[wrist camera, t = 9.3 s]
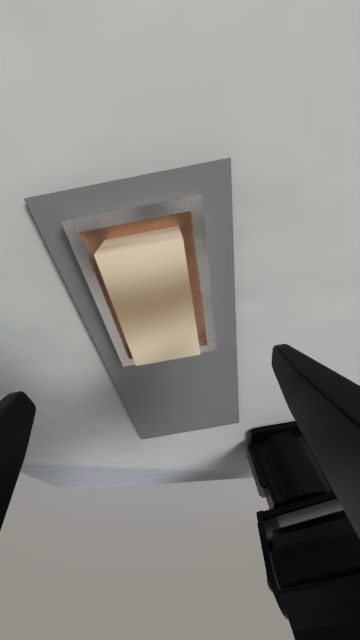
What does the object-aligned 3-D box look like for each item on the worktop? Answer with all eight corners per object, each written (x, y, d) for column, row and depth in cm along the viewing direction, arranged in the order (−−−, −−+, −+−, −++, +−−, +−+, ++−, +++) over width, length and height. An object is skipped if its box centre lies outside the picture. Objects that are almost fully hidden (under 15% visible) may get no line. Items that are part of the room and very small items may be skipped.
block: (195, 330, 16) (200, 354, 14) (138, 340, 16) (136, 366, 14) (178, 225, 12) (182, 237, 10) (104, 239, 12) (93, 254, 10)
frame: (198, 192, 11) (202, 194, 11) (213, 341, 17) (217, 350, 16) (67, 217, 12) (61, 222, 11) (124, 357, 17) (123, 366, 16)
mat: (227, 158, 11) (230, 157, 11) (237, 418, 23) (238, 422, 23) (28, 197, 11) (23, 199, 11) (141, 434, 24) (141, 439, 23)
